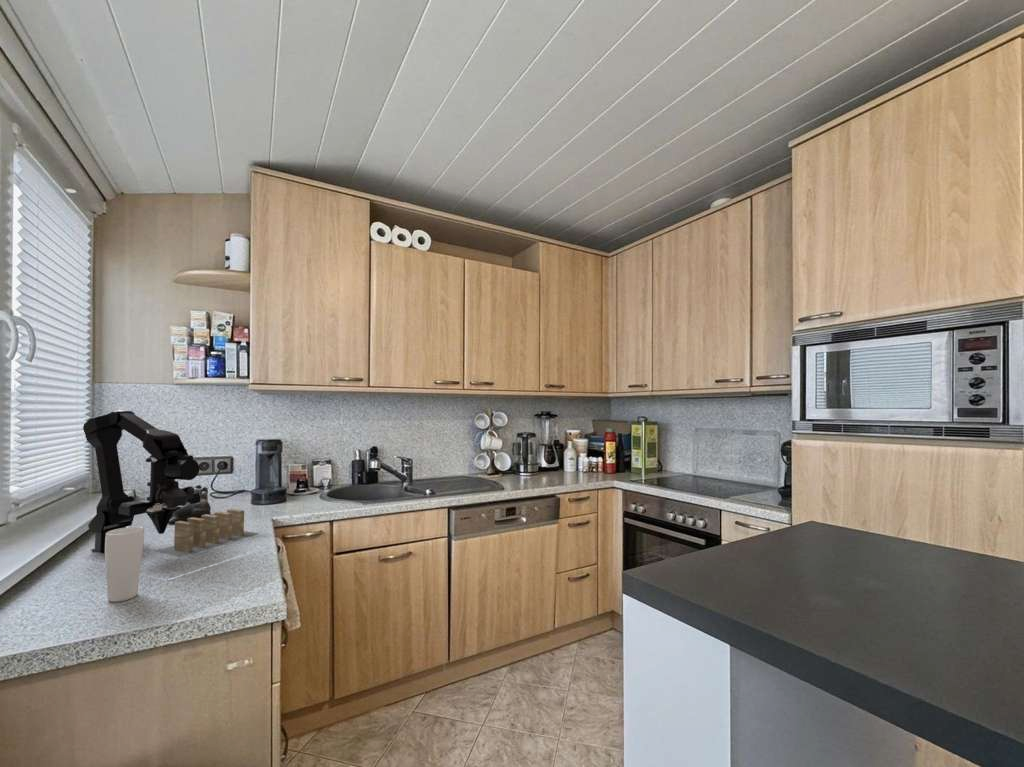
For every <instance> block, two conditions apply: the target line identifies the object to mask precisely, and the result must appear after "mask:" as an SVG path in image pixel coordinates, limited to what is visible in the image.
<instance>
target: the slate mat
mask: <svg viewBox="0 0 1024 767" xmlns="http://www.w3.org/2000/svg"><path fill="white" fill-rule="evenodd" d="M259 534H260V533H259V532H252V531H246V530H244V535H242V536H234V535H232V538H231V539H228V540H224V539H219V542H218V543H214V544H213V543H207V542H205V546H204V547H200V548H199V547H194V546H193V551H190V552H184V551H179V550H174V545H171V546H167V547H163V548H160V549H157V550H154V552H155V553H156V552H157V553H162V554H167V555H171V556H175V557H179V558H180V557H183V556H188V555H191V554H194V553H198V552H201V551H204V550H208V549H211V548H215V547H218V546H219V547H220V546H222V545H225V544H228V543H229V544H230V543H232V542H236V541H238V540H242V539H246V538H250V537H254V536H256V535H259Z"/></svg>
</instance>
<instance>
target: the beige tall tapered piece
mask: <svg viewBox="0 0 1024 767" xmlns="http://www.w3.org/2000/svg"><path fill="white" fill-rule="evenodd" d="M144 532H145V530H144V527H142V526H126V528H119V529H115V530H111V531H109V532H107V533H106V538H105V553H104V560H105V570H106V585H107V586H106V589H107V599H106V600H107V601H109V602H111V603H119V602H125V601H127V600H131V599H134V598H135V597H137V595H138V594H139V584H140V583H139V582H140V576H141V575H140V574H141V567H142V562H143V559H142V558H143V552H144V545H145V544H144V543H145V539H144V538H145V533H144Z"/></svg>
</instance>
